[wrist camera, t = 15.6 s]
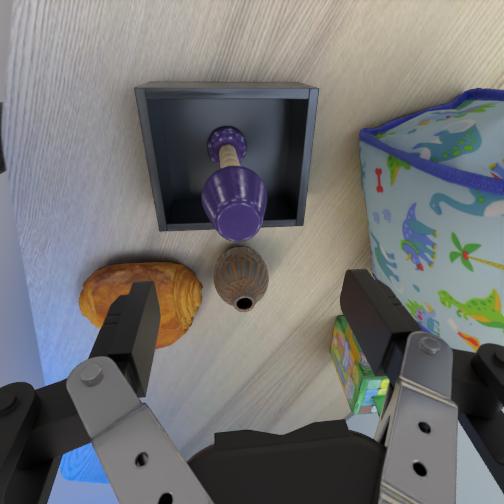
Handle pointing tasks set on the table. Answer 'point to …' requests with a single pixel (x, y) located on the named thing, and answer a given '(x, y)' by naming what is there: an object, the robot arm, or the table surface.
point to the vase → (241, 278)
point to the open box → (235, 115)
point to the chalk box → (356, 372)
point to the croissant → (167, 287)
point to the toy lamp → (233, 188)
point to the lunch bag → (441, 215)
